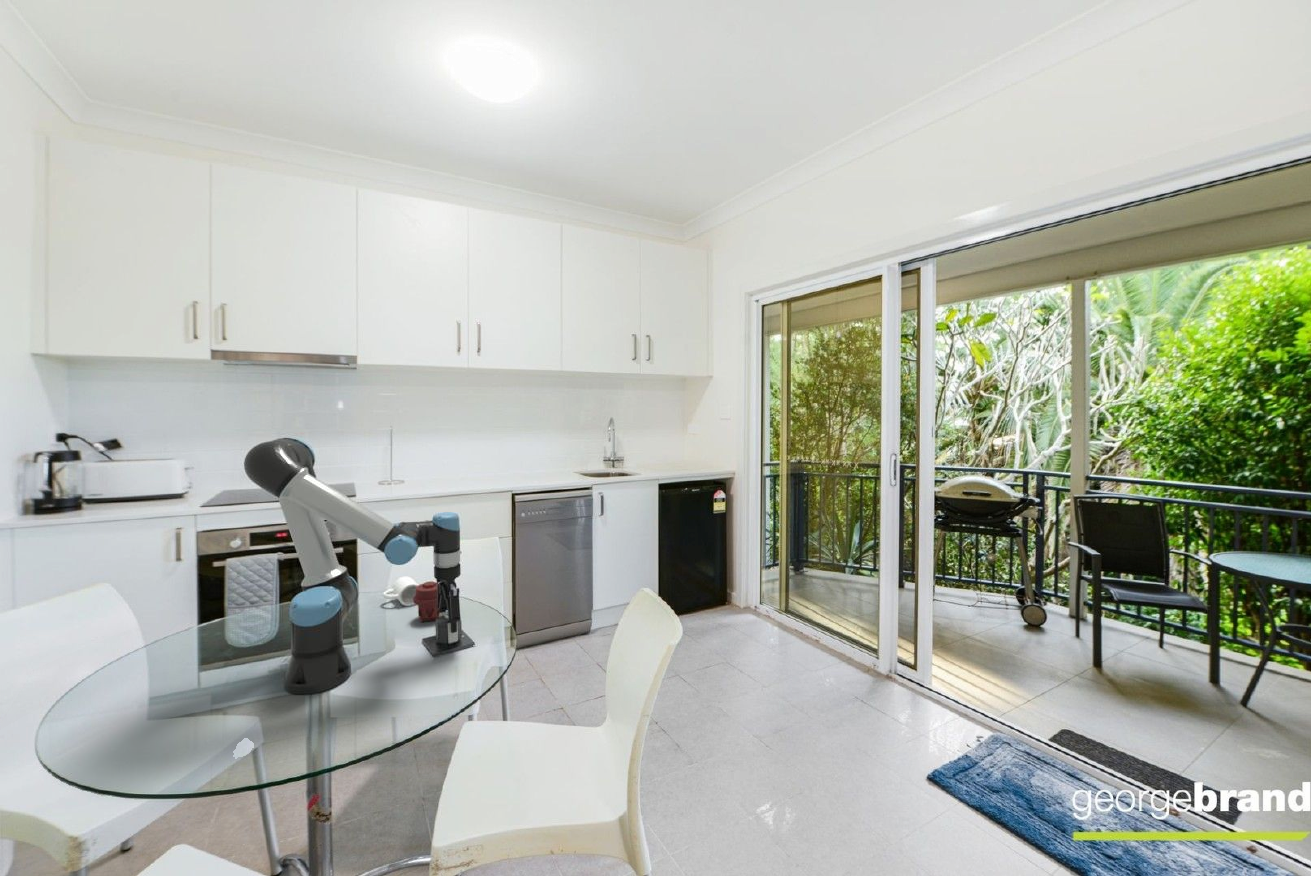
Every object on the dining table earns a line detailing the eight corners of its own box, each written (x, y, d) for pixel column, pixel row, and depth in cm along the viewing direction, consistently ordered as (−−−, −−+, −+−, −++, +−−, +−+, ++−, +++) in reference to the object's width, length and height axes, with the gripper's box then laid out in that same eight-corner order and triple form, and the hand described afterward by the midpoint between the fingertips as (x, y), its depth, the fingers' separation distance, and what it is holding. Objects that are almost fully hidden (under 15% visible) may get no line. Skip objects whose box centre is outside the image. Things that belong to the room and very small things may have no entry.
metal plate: (434, 657, 157) (433, 640, 157) (422, 641, 167) (421, 626, 166) (474, 645, 165) (474, 629, 164) (461, 631, 174) (460, 616, 174)
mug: (414, 594, 204) (414, 574, 203) (423, 603, 196) (422, 582, 196) (380, 602, 196) (379, 581, 196) (387, 611, 189) (386, 589, 188)
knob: (464, 638, 165) (463, 619, 165) (440, 645, 161) (440, 625, 160) (456, 630, 171) (456, 611, 170) (433, 636, 166) (433, 617, 166)
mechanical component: (423, 611, 189) (450, 613, 188) (407, 623, 179) (436, 625, 178) (422, 577, 188) (450, 579, 187) (406, 587, 178) (435, 589, 177)
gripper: (471, 570, 158) (472, 645, 160) (448, 553, 174) (450, 622, 176) (445, 575, 153) (447, 653, 156) (424, 558, 169) (426, 628, 171)
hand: (448, 636), depth 166 cm, fingers closed on knob, 7 cm apart
